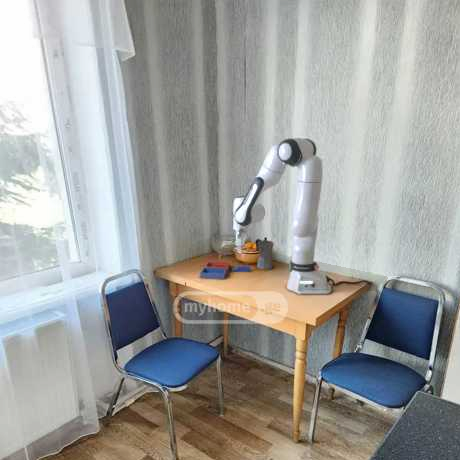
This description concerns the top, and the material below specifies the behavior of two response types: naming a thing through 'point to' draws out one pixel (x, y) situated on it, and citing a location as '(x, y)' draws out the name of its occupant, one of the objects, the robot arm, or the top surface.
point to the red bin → (217, 263)
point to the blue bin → (213, 273)
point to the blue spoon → (242, 268)
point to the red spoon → (220, 265)
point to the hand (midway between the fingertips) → (241, 250)
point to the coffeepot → (264, 253)
